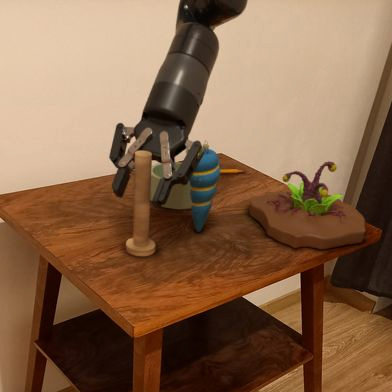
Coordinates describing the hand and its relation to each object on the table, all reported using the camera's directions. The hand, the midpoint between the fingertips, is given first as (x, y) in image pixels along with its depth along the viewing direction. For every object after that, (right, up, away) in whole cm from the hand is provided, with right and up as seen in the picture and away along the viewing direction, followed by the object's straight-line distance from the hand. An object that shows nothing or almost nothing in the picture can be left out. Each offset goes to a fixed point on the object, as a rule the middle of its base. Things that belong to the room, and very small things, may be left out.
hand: (136, 199), depth 78 cm
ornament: (+9, -2, +14) cm, 16 cm away
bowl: (+5, +7, +24) cm, 25 cm away
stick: (0, -6, +7) cm, 9 cm away
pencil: (+10, +16, +35) cm, 40 cm away
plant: (+29, +1, +20) cm, 35 cm away
